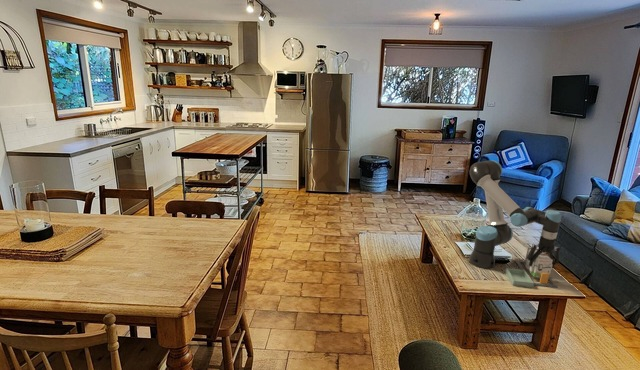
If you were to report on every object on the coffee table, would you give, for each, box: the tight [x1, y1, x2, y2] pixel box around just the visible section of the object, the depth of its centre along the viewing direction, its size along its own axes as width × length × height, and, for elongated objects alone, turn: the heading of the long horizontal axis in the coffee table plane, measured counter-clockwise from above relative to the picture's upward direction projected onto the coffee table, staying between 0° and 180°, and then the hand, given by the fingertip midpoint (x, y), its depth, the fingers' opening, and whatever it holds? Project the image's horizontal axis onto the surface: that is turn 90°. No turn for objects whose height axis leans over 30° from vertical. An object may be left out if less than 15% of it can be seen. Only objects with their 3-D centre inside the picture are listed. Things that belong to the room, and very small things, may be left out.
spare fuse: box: [523, 247, 543, 273], centre depth 223 cm, size 5×9×12 cm, turn 170°
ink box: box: [529, 254, 553, 278], centre depth 212 cm, size 9×5×12 cm, turn 89°
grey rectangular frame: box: [514, 257, 558, 288], centre depth 218 cm, size 14×28×7 cm, turn 170°
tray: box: [504, 267, 535, 288], centre depth 212 cm, size 11×15×3 cm
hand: (539, 272), depth 213 cm, fingers closed on ink box, 9 cm apart
